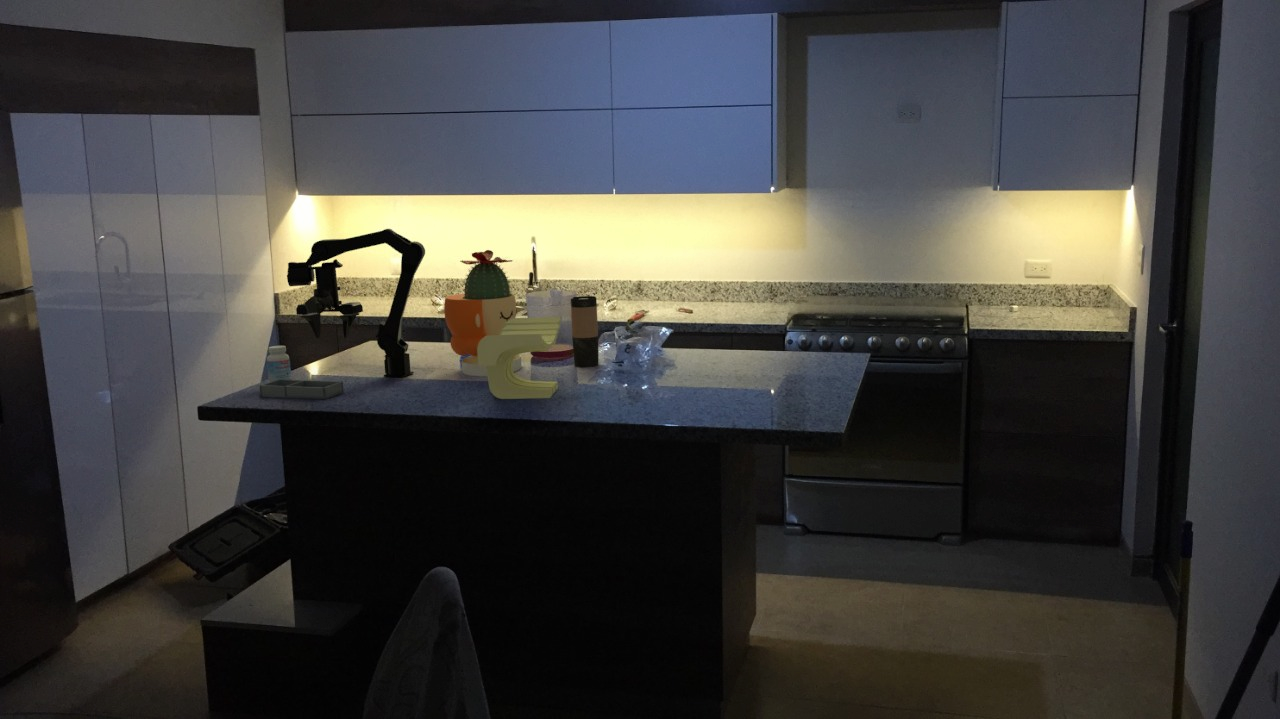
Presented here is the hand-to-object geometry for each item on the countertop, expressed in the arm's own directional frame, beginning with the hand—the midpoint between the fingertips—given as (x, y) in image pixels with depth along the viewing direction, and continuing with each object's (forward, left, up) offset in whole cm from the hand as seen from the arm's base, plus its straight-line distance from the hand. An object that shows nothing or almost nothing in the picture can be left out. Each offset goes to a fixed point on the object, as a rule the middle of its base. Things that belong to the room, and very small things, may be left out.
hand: (332, 338), depth 315 cm
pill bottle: (+9, +13, -12) cm, 20 cm away
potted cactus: (-37, -20, -12) cm, 44 cm away
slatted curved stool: (-64, +10, -12) cm, 66 cm away
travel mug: (-65, -31, -12) cm, 74 cm away
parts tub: (-4, +22, -12) cm, 25 cm away
